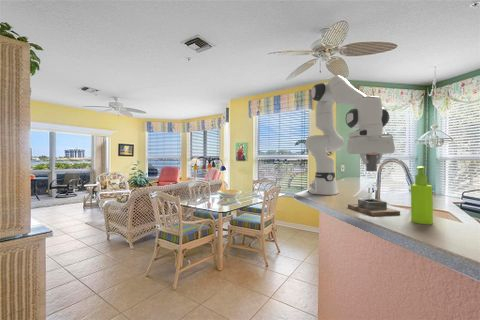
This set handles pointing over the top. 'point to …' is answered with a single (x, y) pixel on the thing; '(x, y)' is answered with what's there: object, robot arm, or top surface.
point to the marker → (371, 162)
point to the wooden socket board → (373, 207)
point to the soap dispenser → (421, 199)
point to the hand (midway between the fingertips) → (371, 164)
